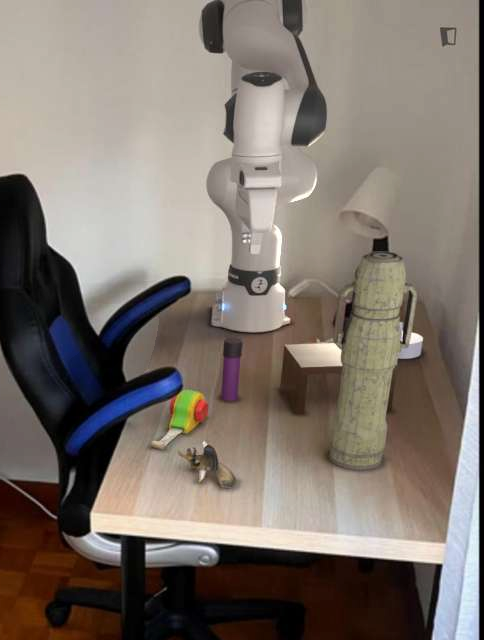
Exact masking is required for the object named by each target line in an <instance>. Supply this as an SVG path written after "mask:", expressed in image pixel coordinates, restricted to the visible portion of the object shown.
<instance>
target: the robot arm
mask: <svg viewBox="0 0 484 640" xmlns="http://www.w3.org/2000/svg"><path fill="white" fill-rule="evenodd" d="M307 14H308V8H307V2H306V0H212V1H210V2H208V3H206V4H205V6H204V7H203V8H202V9H201V15H200V17H199V20H198V34H199V38H200V40H201V43H202V44H203V46H204V49H205V50H206V51H207V52H208V53H210V54H224V52H225V53H226V54H227V56H228V57H229V59H230V60H231V68H230V69H231V70H230V92H231V93H230V95H231V97H230V98H229V99H228V100H227V101H226V102H225V103H224V109H225V116H224V129H223V133H222V135H224V137H225V138H227V140H228V141H230V142H231V143H232V144H233V147H232V150H231V157H229V158H224V159H221V160H218V161H216V162H214V163H213V164H212V166H211V167H210V169H209V171H208V173H207V176H206V183H205V187H206V191H207V196H208V197H209V199H210V201H211V202H212V203H213V204H215V206H216V207H218V208H219V209H220V211H222V213H224V215H225V217H226V219H227V221H228V223H229V226H230V231H231V260H230V261H231V263H230V264H229V267H228V270H227V271H228V272H227V281H226V283H225V284H224V285H223V287H222V290H221V292H219V291H218V292H215V297H214V302H215V303H216V304H213V305H212V308H211V309H212V310H211V319H210V321H211V322H210V325H211V326H213V327H219V328H224V329H227V330H230V331H234V332H241V333H264V332H265V333H266V332H271V331H275V330H277V329H279V328H281V327H282V326H285V325H288V324H291V318H290V317H288V316H287V315H286V314H285V310H287V305H286V304H285V303H286V290H285V288H284V286H282V285H281V284H280V281H281V276H282V266H281V265H280V263H281V251H282V240H283V236H282V233H281V230H280V229H279V228H278V226H277V225H275V224H274V223H273V222H274V218H275V211H276V210H275V209H276V205H280V204H288V203H292V202H295V201H299V200H302V199H304V198H307V197H309V196H310V195H311V194H312V193H313V191H314V189H315V187H316V184H317V181H318V169H317V168H318V167H317V166H316V163H315V161H314V159H313V158H312V157H311V156H310V155H309V154H307V153H306V152H304V150H302V149H301V148H300V147H302V148H303V147H305V148H308V147H310V146H311V145H313V144H314V143H315V142H317V141H318V140H319V139H320V138H321V137H322V136H323V135H324V133H325V132H326V127H327V125H328V116H329V115H328V105H327V102H326V97H325V95H324V94H323V92H322V91H321V89H320V87H319V86H318V83H317V81H316V77H315V75H314V72H313V69H312V66H311V63H310V60H309V58H308V54H307V52H306V50H305V47H304V45H303V43H302V41H301V39H300V35H301V33H302V32H303V31H304V26H305V24H306V20H307ZM284 80H285V81H286V83H287V86H288V89H285V81H284Z"/></svg>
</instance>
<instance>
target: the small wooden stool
mask: <svg viewBox="0 0 484 640" xmlns="http://www.w3.org/2000/svg"><path fill="white" fill-rule="evenodd" d="M341 351H342V350H340V349H339V348H338V347H337V346H336V344H335V343H334V342H331V343H323V344H302V343H301V344H300V343H298V344H297V343H295V344H294V343H293V344H284V345H283V355H282V365H281V366H282V367H281V375H280V387H279V390H280V392H281V393H282V395H283V397H284V398H285V400H286V402H287V403H288V404H289V406H290V407H291V409H292V411H293V412H294V413H295V415H304V414H305V408H306V398H307V390H308V382H309V380H308V379H309V375H336V374H337V375H338V374H340V375H341V374H342V367H343V366H342V363H341ZM398 368H399V364H398V363H397V364H396V366H395V367H394V369H393V372H392V379H391V385H390V392H389V398H388V405H387V411H386V413H389V412H392V407H393V400H394V395H395V388H396V381H397V377H398V376H397V375H398Z"/></svg>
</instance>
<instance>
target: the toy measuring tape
mask: <svg viewBox="0 0 484 640" xmlns="http://www.w3.org/2000/svg"><path fill="white" fill-rule="evenodd" d="M169 413H170V415H171V419H170V421H169V425H168V431H167V432H166V434H165V435H164V436H163V437H161V439H160V440H154V439H153V440H151V443H150V447H152V448H154V449H158V450H164V447H166V446H167V445H168V444H169V443H170V442H171V441H173V440H174V439H175V438H176V437H177V436H178V435H180V434H185V435H186V434H188V433H190V432H191V431H192V430H194V429H195V428H196V427H197V426H198V425H199V424H200V423H203V422H204V421H205V420H206V418H207V417H208V414H209V403H208V402H207V400H206V398H205V396H204V394H203V393H201V392H200V391H197V390H194V389H193V390H192V389H184V390H181V391H180V392H179V393H177V394H176V395H175V396H173V398H172V399H171V401H170V403H169Z"/></svg>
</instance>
